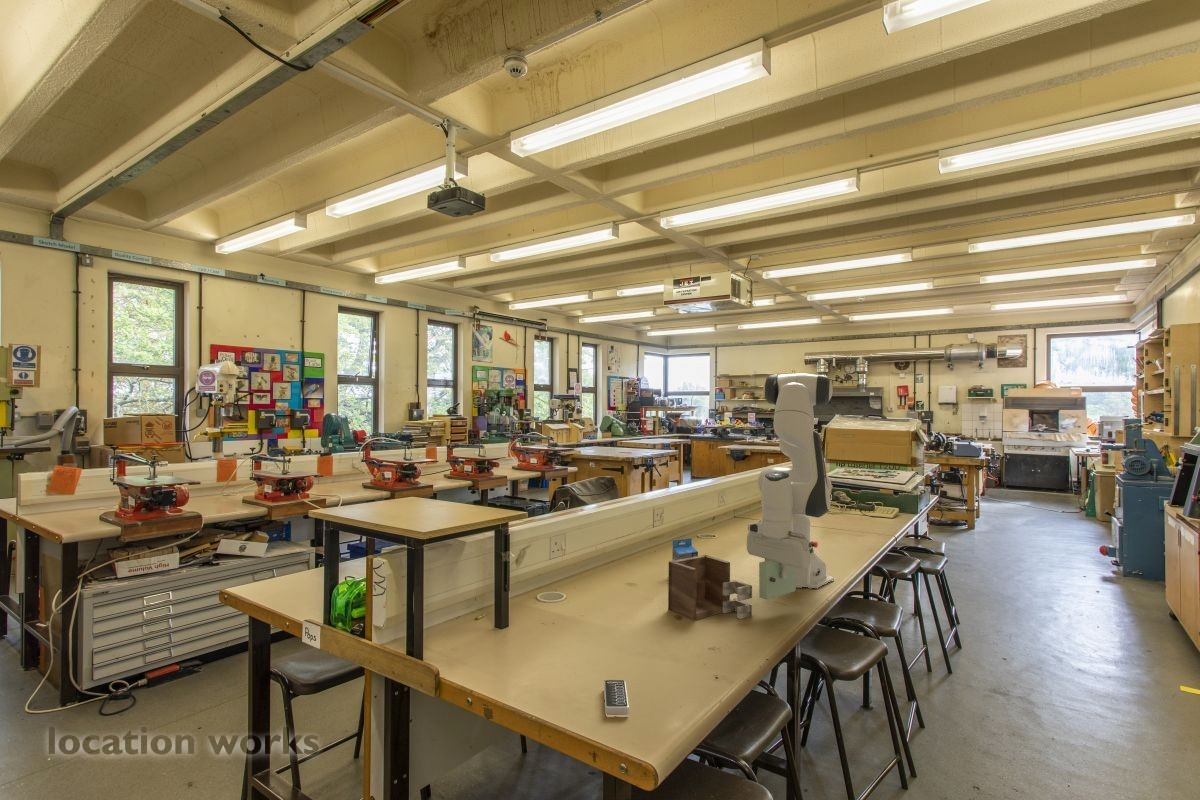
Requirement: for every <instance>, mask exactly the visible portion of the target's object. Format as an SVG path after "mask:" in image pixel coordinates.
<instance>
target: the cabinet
mask: <svg viewBox="0 0 1200 800" xmlns="http://www.w3.org/2000/svg"><path fill="white" fill-rule="evenodd" d="M667 584H668V587H667V589H668V590H667V591H668V598H667V599H668V601H667V603H668V605H667V608H668V609H667V610H668V611H670V612H672V613H675V614H677V615H679V616H681V617H684V618H685V619H688V620H690V621H695V620H699V619H702V618H706V617H710V616H714V615H717V614H721V613H723V614H729V613H732V612H736V619H739V620H741V619H745V618H749V617H752V616H753V610H752V609H753V605H752V604H750V603H747V602H745V601H746V600H751V599H753V585H751V584H749V583H746V582H742V581H739V580H736V579H734V580H731V562H730V561H728V560H724V559H721V558H718V557H714V556H711V555H707V554H703V555H698V556H697V557H691V558H686V559H680V560H675V561H672V560H670V561H668V583H667ZM735 594H736V595H737V598H733V599H731V595H735Z"/></svg>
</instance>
